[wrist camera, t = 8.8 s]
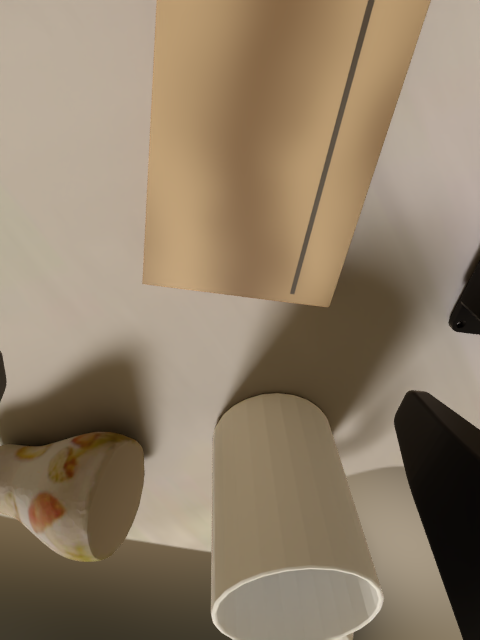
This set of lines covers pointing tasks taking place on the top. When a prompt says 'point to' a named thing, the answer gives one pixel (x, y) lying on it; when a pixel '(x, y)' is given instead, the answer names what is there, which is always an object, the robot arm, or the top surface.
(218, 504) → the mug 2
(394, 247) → the top surface
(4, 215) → the top surface
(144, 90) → the top surface
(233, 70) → the board
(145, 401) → the top surface
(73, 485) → the patterned white vase
